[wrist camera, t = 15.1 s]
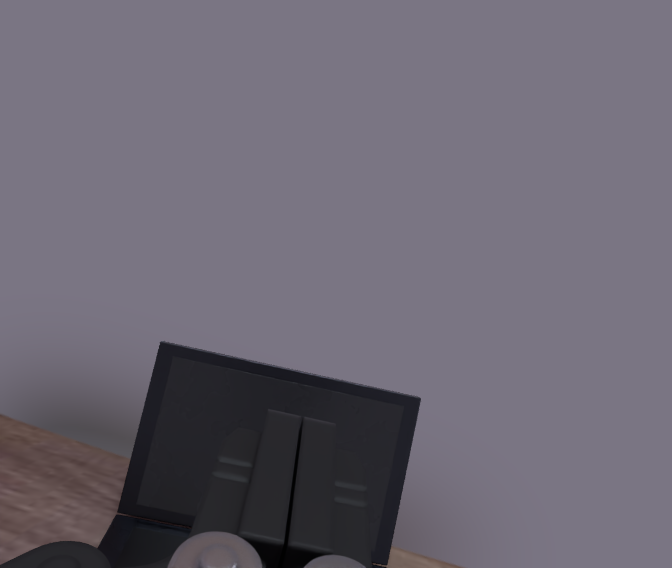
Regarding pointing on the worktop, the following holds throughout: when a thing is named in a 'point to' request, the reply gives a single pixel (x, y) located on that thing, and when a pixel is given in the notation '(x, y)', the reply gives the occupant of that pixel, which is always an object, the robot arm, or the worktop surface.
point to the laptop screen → (250, 413)
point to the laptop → (142, 541)
